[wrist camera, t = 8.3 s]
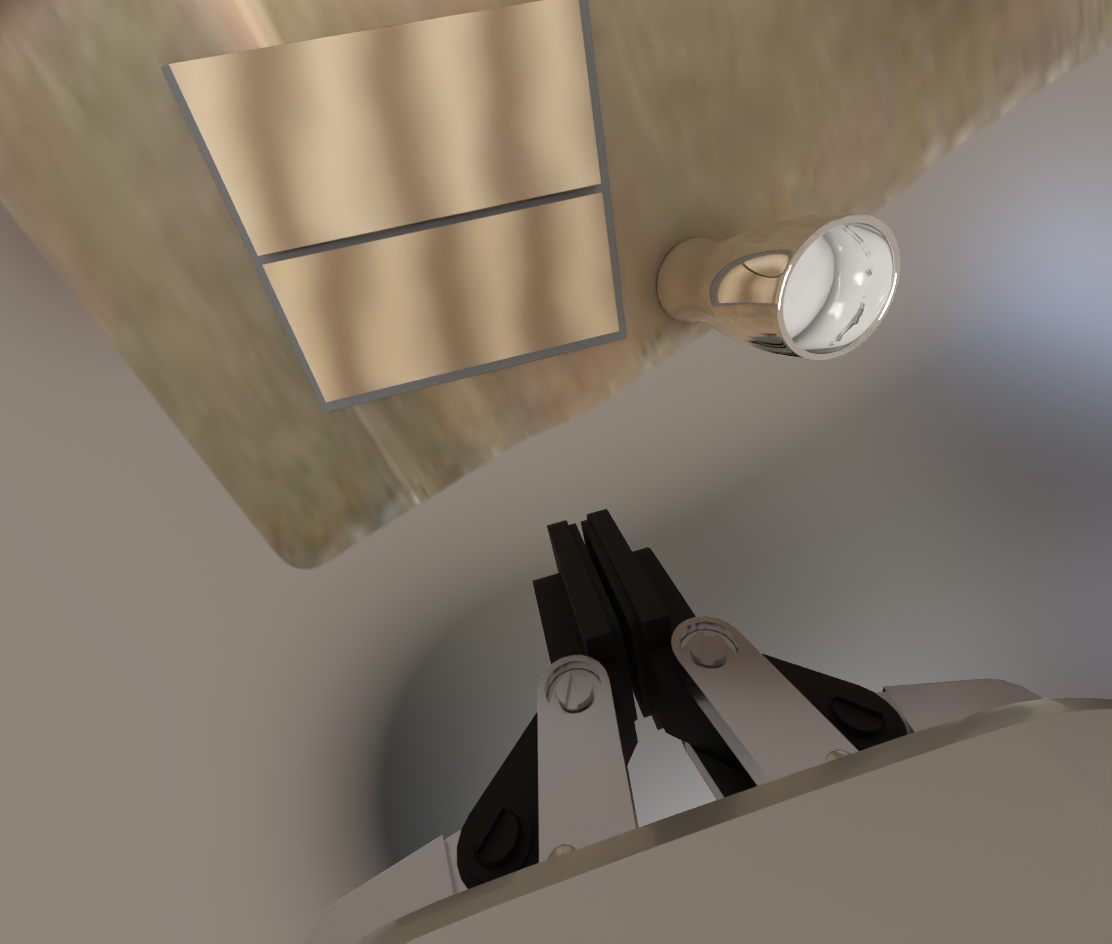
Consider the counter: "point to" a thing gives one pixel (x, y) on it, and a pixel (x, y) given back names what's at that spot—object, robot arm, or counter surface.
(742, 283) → the beer glass
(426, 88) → the board
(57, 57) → the counter surface
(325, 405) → the underlay mat
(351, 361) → the loose plank
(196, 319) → the counter surface
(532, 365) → the counter surface
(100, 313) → the counter surface
